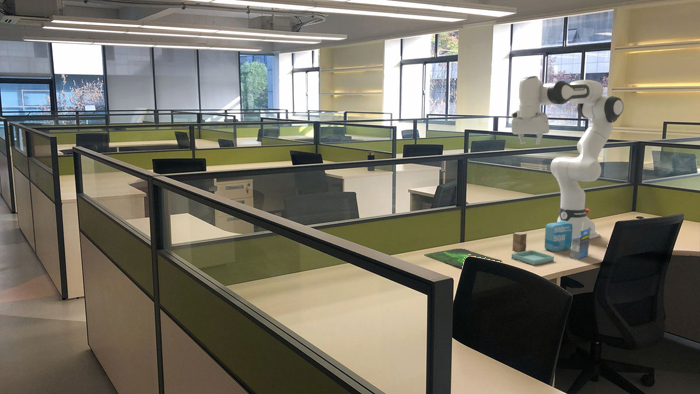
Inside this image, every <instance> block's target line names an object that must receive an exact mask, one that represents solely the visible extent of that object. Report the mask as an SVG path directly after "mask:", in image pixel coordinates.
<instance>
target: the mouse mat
mask: <svg viewBox="0 0 700 394" xmlns="http://www.w3.org/2000/svg"><path fill="white" fill-rule="evenodd" d="M468 254H471V255H468ZM423 256H424V257H426V258H430V259H432V260H435V261H438V262H441V263H443V264H445V265H449V266H452V267H455V268H459V269H461V270H463V269H462V266H463V262H464V260H465V258H466V257H467V256H476V257H481V258H485V257H486V258H485V259H490V260H495V261H500V262H501V263H502V262H503V261H502V259H499V258H496V257H495V258H494V257H491V256H487V255H485V254H480V253H477V252H473V251H472V250H468V249H465V248H459V247H458V248H453V249H446V250H442V251H436V252H435V251H434V252H429V253H424V254H423ZM464 257H465V258H464ZM463 259H464V260H463Z"/></svg>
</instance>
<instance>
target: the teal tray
mask: <svg viewBox="0 0 700 394" xmlns="http://www.w3.org/2000/svg"><path fill="white" fill-rule="evenodd" d="M511 259H512V260H514V261H519V262H522V263H525V264H528V265H531V266H538V265H542V264H546V263H551V262H555V256H553V255H549V254H546V253H543V252H540V251H536V250H532V249H530V250H526V251H524V252H515V253H511Z"/></svg>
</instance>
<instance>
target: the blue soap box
mask: <svg viewBox="0 0 700 394" xmlns="http://www.w3.org/2000/svg"><path fill="white" fill-rule="evenodd" d="M572 228H573V226H572V224H571V223H567V222H557V221H556V222H550V223H547V224H546V225H545V231H544V232H545V234H544V249H545V250H547V251H550V252H554V253H555V252H560V251H568V250H571V246H572Z"/></svg>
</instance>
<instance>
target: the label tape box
mask: <svg viewBox="0 0 700 394" xmlns="http://www.w3.org/2000/svg"><path fill="white" fill-rule="evenodd" d="M585 232H587V233H586V234H584V233H585ZM580 234H581V236H579V237H576V238H574V239H572V243H571V248H570V258H572V259H574V258H575V260H580V259H582V258H584V257H586V256H589V245H590V239H589V237H590V228H589V229H586V230H583V231H580Z"/></svg>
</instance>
